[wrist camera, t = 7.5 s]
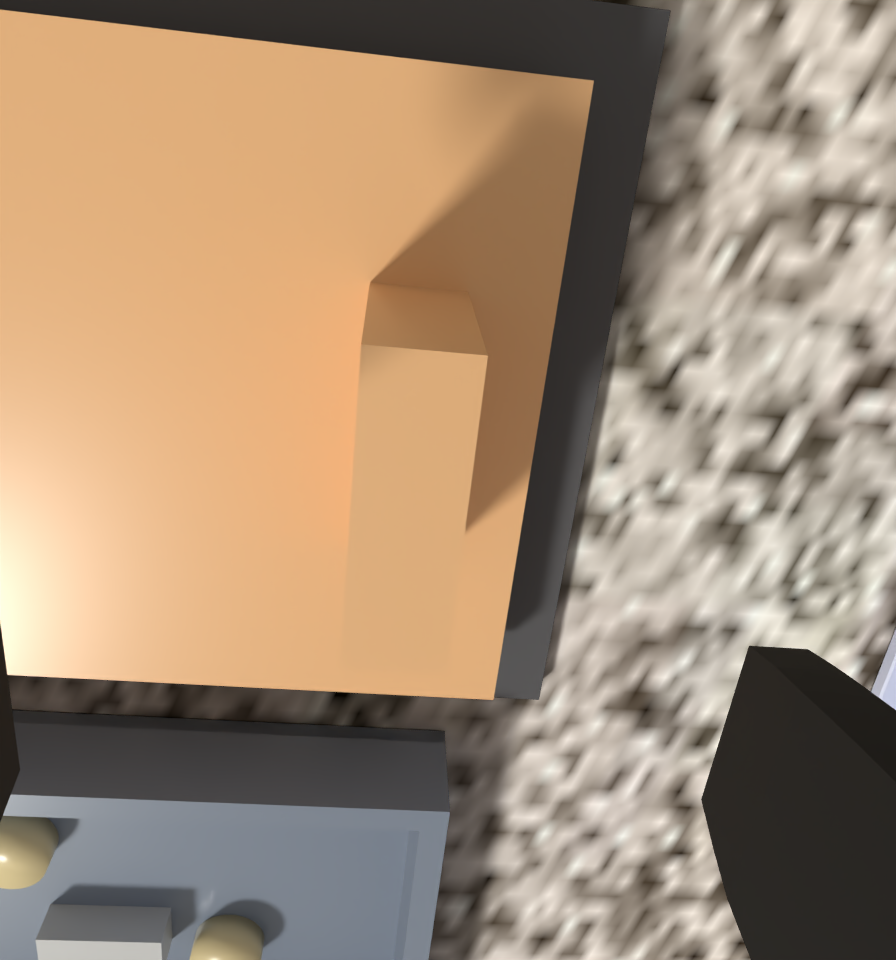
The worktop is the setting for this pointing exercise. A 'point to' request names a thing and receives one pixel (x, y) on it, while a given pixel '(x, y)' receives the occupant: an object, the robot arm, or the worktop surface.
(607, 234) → the mat
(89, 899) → the blue-grey tray
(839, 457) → the worktop surface
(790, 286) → the worktop surface
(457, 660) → the lid
